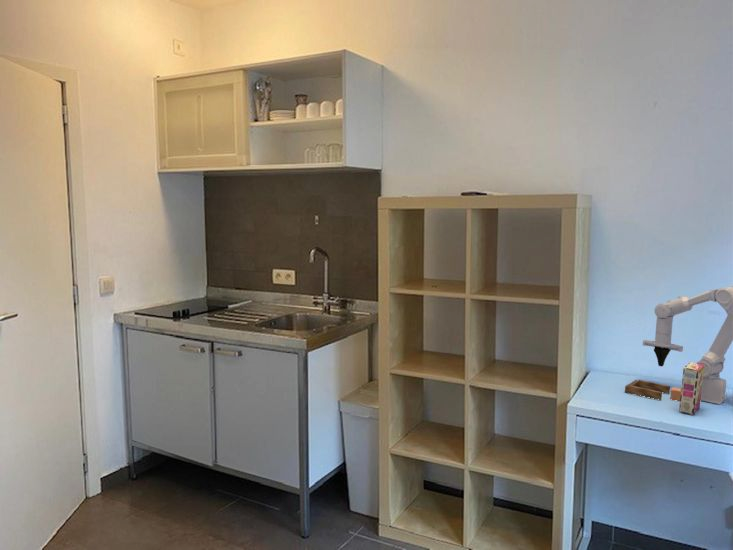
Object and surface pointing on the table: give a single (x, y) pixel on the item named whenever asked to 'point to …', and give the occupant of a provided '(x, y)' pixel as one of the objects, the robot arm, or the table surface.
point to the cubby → (647, 389)
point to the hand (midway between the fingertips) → (660, 365)
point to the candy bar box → (691, 388)
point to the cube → (675, 393)
